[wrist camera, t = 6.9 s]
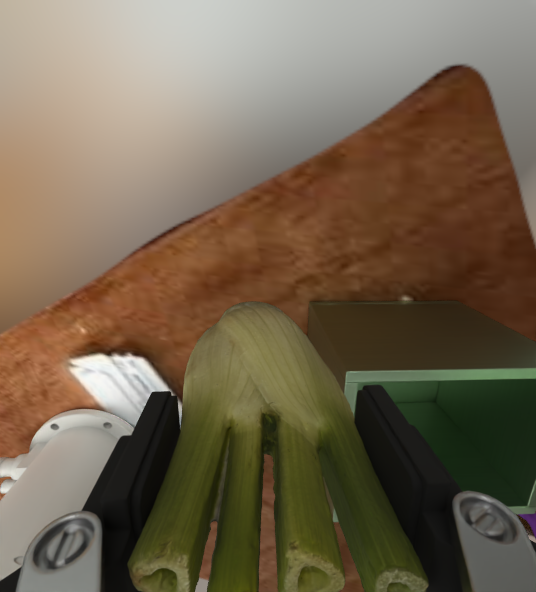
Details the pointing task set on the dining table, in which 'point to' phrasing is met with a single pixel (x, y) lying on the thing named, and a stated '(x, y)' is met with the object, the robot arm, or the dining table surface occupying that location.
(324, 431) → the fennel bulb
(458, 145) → the dining table surface
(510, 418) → the trash bin
